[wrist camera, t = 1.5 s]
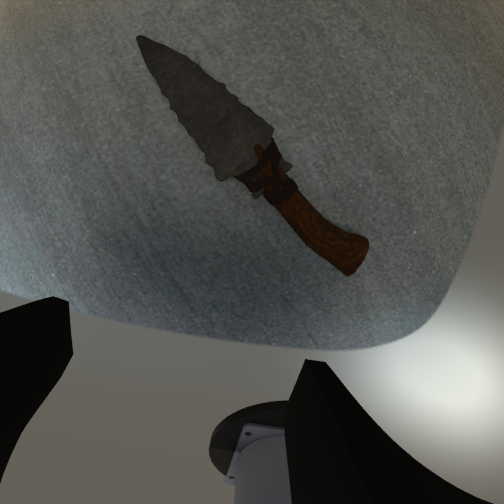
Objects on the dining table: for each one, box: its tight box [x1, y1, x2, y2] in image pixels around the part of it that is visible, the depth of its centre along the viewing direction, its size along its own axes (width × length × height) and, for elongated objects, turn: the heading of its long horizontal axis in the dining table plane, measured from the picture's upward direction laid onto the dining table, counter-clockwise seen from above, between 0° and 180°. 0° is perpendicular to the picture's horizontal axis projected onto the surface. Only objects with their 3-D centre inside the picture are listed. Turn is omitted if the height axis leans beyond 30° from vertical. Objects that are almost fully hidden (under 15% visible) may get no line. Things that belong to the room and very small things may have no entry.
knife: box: [136, 35, 369, 276], centre depth 14 cm, size 17×2×5 cm
